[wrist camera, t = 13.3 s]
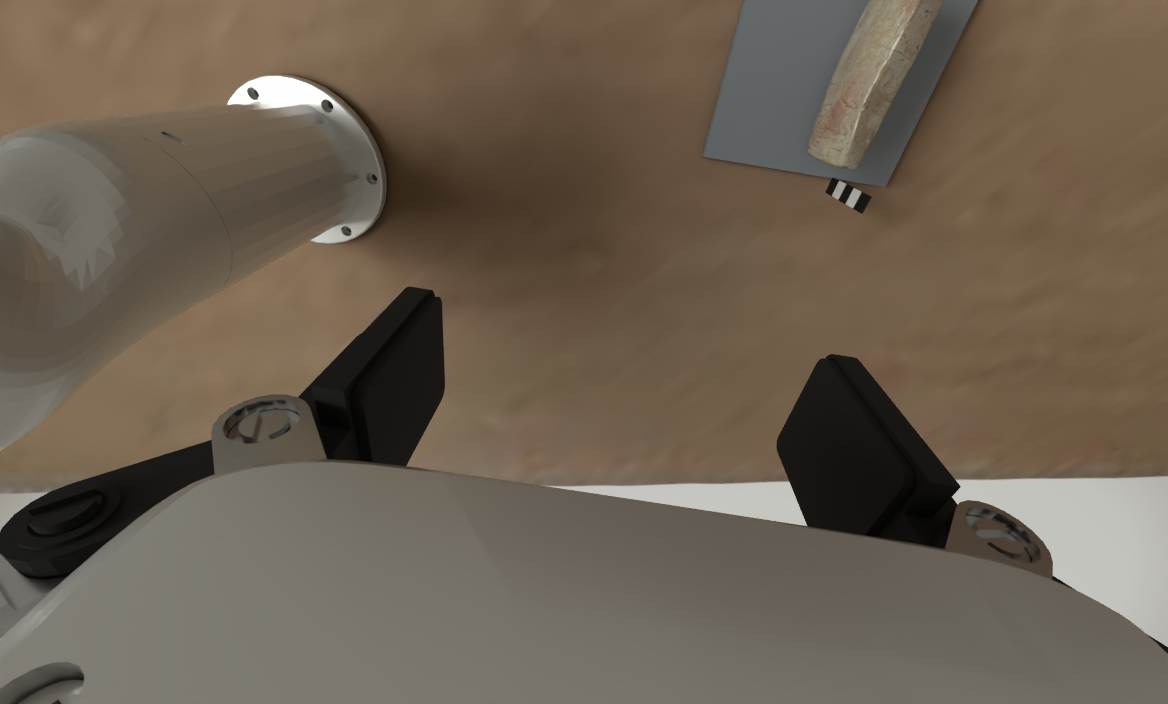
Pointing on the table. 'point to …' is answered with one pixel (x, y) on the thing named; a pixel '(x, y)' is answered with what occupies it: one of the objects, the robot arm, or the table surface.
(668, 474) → the table surface
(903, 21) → the cuneiform tablet
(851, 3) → the mat
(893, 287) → the table surface
